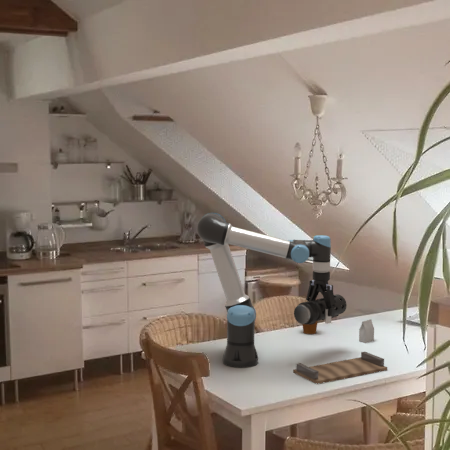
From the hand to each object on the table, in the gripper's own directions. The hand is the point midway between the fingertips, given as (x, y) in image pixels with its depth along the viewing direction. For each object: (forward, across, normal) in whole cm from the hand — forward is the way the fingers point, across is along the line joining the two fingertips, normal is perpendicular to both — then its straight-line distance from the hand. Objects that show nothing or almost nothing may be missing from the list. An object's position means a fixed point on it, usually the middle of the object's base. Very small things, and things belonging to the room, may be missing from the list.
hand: (320, 320), depth 302 cm
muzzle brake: (+1, 0, 0) cm, 1 cm away
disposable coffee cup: (+16, +33, -19) cm, 41 cm away
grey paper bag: (+16, +8, -34) cm, 38 cm away
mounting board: (+16, -22, +6) cm, 28 cm away
